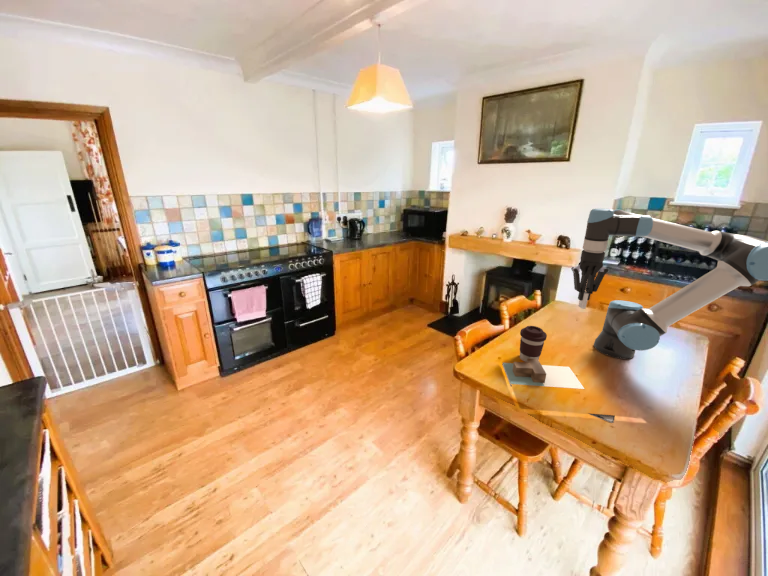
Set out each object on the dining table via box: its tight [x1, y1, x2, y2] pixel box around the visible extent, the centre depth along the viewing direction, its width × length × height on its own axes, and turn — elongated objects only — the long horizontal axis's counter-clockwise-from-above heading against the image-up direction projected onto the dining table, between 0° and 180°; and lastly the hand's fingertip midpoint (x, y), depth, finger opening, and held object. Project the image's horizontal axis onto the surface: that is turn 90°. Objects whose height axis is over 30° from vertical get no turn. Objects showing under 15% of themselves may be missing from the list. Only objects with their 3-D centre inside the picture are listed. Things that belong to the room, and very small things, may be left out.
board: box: [502, 362, 585, 390], centre depth 126 cm, size 26×14×1 cm, turn 83°
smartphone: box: [588, 413, 616, 424], centre depth 111 cm, size 7×1×15 cm
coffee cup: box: [519, 325, 548, 362], centre depth 135 cm, size 10×10×15 cm
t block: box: [513, 358, 546, 383], centre depth 126 cm, size 10×10×4 cm
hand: (581, 307), depth 131 cm, fingers closed
